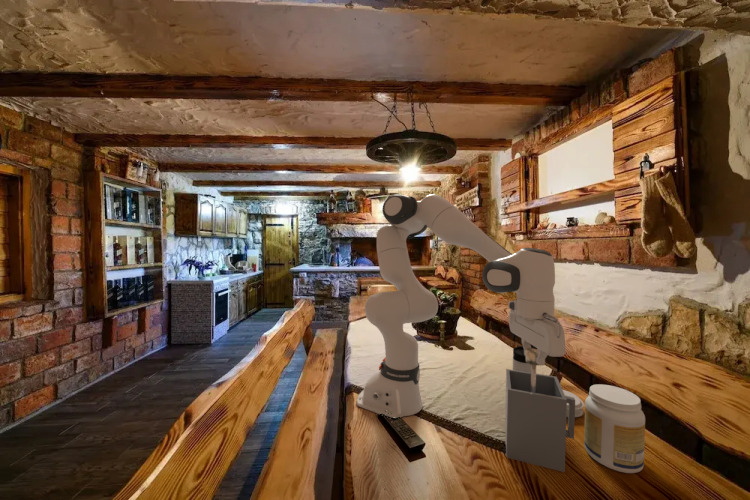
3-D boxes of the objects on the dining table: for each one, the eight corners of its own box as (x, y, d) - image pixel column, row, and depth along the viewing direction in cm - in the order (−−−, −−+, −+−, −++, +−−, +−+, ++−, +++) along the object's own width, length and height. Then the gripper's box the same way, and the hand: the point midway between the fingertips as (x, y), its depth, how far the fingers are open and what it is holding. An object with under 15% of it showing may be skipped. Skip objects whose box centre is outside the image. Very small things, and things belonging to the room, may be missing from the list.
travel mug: (527, 403, 103) (528, 346, 102) (535, 414, 97) (537, 353, 96) (508, 402, 104) (509, 345, 103) (515, 413, 97) (517, 352, 96)
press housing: (506, 457, 78) (507, 389, 77) (505, 427, 90) (506, 369, 89) (579, 476, 72) (581, 402, 71) (567, 441, 84) (569, 378, 83)
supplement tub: (647, 459, 77) (650, 394, 76) (639, 484, 69) (642, 413, 68) (590, 435, 86) (592, 377, 86) (577, 455, 78) (579, 392, 78)
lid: (541, 414, 97) (541, 399, 97) (536, 395, 108) (537, 382, 108) (588, 424, 92) (588, 408, 92) (578, 403, 104) (578, 389, 103)
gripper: (574, 319, 69) (572, 377, 70) (525, 301, 90) (525, 346, 90) (547, 319, 69) (546, 378, 70) (505, 301, 90) (504, 346, 90)
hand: (533, 360), depth 80 cm, fingers closed on plunger, 4 cm apart
